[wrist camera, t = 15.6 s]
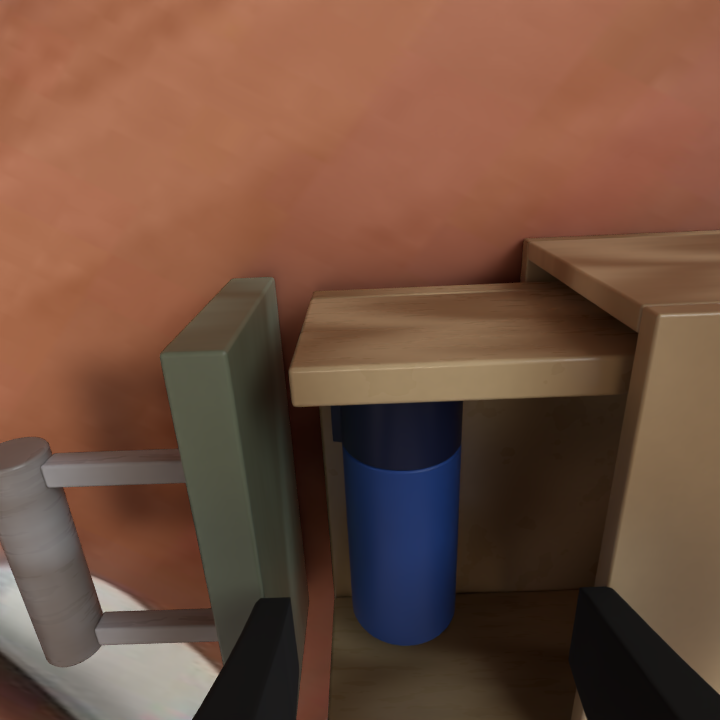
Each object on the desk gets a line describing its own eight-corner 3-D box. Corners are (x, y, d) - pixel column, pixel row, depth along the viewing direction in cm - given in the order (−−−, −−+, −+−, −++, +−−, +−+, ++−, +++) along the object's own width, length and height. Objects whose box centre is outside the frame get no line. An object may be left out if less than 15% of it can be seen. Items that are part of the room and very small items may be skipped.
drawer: (130, 606, 19) (44, 780, 13) (38, 286, 14) (-144, 365, 9) (633, 590, 18) (738, 760, 13) (704, 258, 14) (906, 324, 9)
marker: (458, 586, 16) (449, 673, 14) (361, 569, 17) (334, 649, 14) (468, 352, 13) (458, 406, 11) (349, 345, 14) (312, 394, 11)
